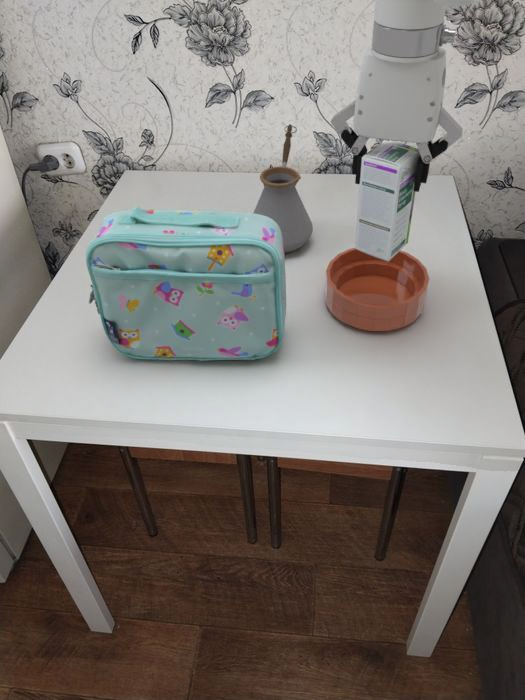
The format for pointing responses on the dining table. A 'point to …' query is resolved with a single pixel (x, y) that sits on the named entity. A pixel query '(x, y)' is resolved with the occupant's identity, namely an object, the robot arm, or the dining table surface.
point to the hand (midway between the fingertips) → (388, 182)
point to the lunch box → (189, 284)
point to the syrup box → (386, 199)
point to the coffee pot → (285, 201)
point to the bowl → (375, 290)
